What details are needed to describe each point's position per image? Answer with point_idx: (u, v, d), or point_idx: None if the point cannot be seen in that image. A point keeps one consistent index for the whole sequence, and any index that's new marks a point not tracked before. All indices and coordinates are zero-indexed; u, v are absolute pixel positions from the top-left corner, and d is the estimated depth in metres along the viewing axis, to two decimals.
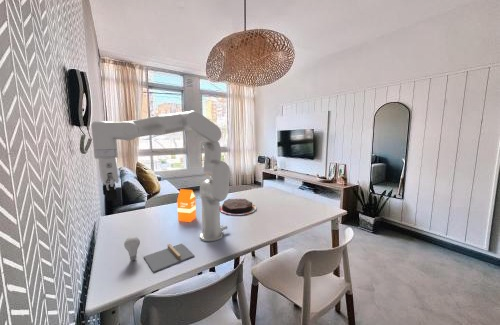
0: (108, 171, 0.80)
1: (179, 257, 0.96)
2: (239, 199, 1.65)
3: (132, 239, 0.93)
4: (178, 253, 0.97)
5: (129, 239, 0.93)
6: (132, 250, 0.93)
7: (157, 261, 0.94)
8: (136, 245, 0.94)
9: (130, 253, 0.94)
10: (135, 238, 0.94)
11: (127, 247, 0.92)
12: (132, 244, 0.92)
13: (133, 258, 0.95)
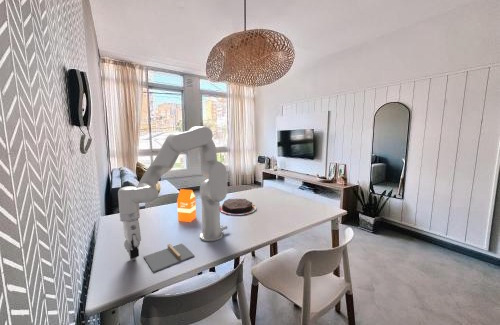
0: (132, 232, 0.90)
1: (179, 257, 0.96)
2: (239, 199, 1.65)
3: None
4: (178, 253, 0.97)
5: None
6: None
7: (157, 261, 0.94)
8: None
9: None
10: None
11: (127, 247, 0.92)
12: (132, 244, 0.92)
13: (133, 258, 0.95)
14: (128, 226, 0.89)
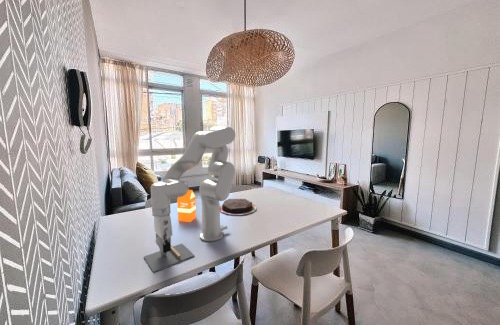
0: (165, 227, 0.92)
1: (179, 257, 0.96)
2: (239, 199, 1.65)
3: None
4: (178, 253, 0.97)
5: None
6: None
7: (157, 261, 0.94)
8: None
9: (161, 249, 0.96)
10: None
11: (159, 243, 0.94)
12: None
13: (164, 254, 0.97)
14: (161, 221, 0.91)
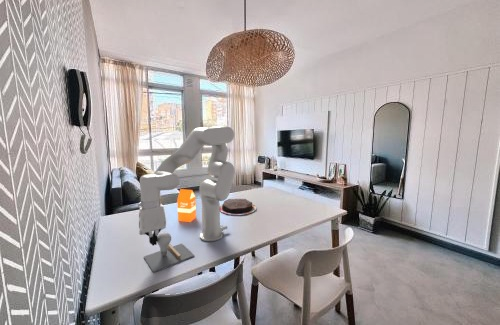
0: (139, 219, 0.90)
1: (179, 257, 0.96)
2: (239, 199, 1.65)
3: (165, 235, 0.96)
4: (178, 253, 0.97)
5: (162, 235, 0.96)
6: (164, 246, 0.96)
7: (157, 261, 0.94)
8: (168, 241, 0.96)
9: (162, 248, 0.96)
10: (167, 234, 0.97)
11: (160, 242, 0.95)
12: (165, 240, 0.95)
13: (164, 254, 0.97)
14: None
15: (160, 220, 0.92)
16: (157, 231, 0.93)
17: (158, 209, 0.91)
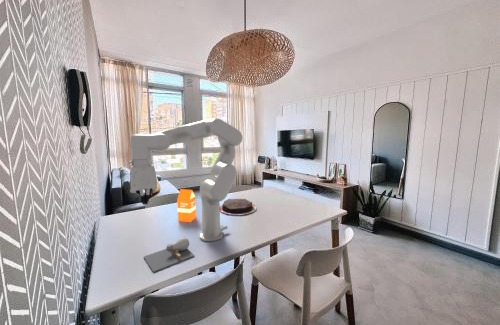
0: (130, 177, 0.91)
1: (179, 257, 0.96)
2: (239, 199, 1.65)
3: None
4: (178, 253, 0.97)
5: (188, 241, 1.04)
6: (180, 247, 1.00)
7: (157, 261, 0.94)
8: (184, 249, 1.01)
9: (176, 245, 1.00)
10: None
11: (184, 242, 1.01)
12: (187, 245, 1.02)
13: (170, 249, 0.98)
14: None
15: (151, 179, 0.94)
16: (148, 191, 0.95)
17: (149, 168, 0.93)
